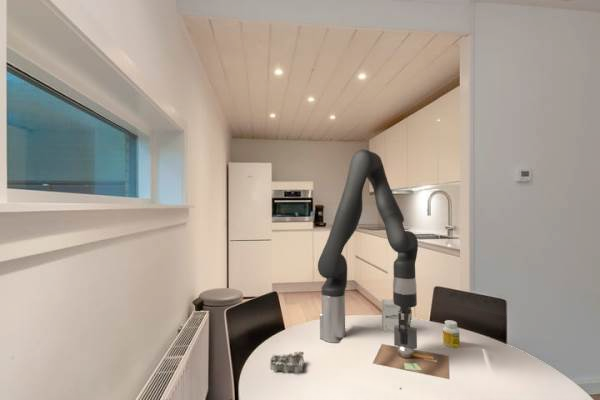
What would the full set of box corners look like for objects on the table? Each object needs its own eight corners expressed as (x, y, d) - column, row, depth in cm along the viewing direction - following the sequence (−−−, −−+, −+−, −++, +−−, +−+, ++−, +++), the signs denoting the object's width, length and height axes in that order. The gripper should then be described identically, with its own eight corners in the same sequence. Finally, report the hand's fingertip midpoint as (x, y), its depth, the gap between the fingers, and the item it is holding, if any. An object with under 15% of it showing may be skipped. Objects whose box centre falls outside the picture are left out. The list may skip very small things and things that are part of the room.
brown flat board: (372, 368, 97) (372, 363, 98) (381, 348, 112) (381, 343, 112) (449, 384, 88) (449, 378, 88) (448, 360, 102) (448, 355, 103)
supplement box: (384, 335, 124) (383, 303, 124) (381, 328, 131) (381, 298, 132) (403, 336, 123) (402, 304, 123) (399, 329, 130) (399, 299, 131)
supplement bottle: (448, 344, 115) (448, 318, 115) (462, 349, 110) (462, 322, 111) (440, 348, 112) (439, 321, 112) (454, 353, 107) (453, 325, 108)
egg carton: (305, 363, 101) (305, 351, 101) (301, 375, 94) (301, 362, 94) (273, 361, 103) (273, 348, 103) (267, 372, 95) (268, 359, 96)
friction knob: (393, 356, 102) (393, 328, 102) (396, 350, 106) (395, 323, 107) (433, 363, 97) (432, 334, 97) (433, 356, 101) (433, 329, 102)
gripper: (396, 284, 112) (397, 330, 111) (389, 294, 99) (390, 345, 98) (418, 286, 108) (419, 333, 108) (414, 296, 96) (415, 349, 95)
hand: (405, 339), depth 103 cm, fingers open, 8 cm apart
